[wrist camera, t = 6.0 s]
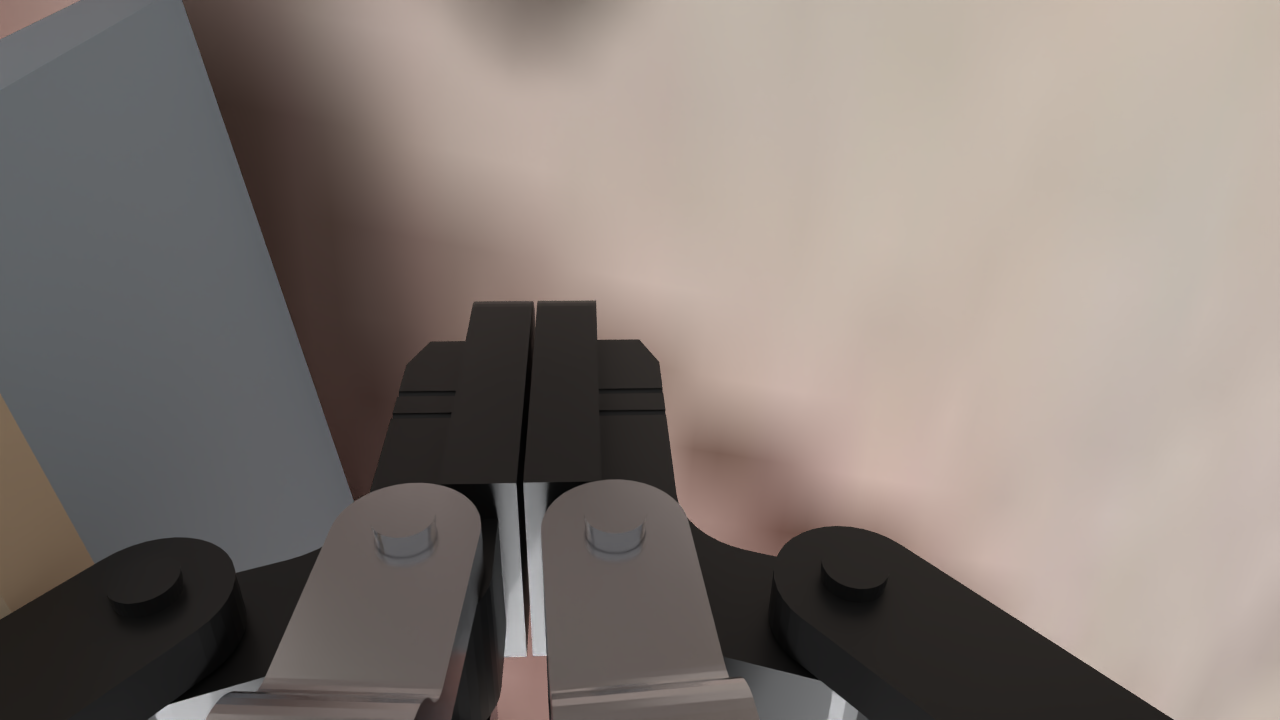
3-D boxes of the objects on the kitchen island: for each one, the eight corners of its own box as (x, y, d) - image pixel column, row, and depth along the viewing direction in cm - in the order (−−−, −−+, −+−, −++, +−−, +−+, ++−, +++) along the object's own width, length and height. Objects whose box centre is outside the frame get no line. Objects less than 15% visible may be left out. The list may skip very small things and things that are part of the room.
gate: (454, 751, 20) (399, 1217, 14) (368, 762, 20) (272, 1233, 14) (201, -15, 12) (-225, 243, 6) (57, 2, 12) (-537, 281, 6)
